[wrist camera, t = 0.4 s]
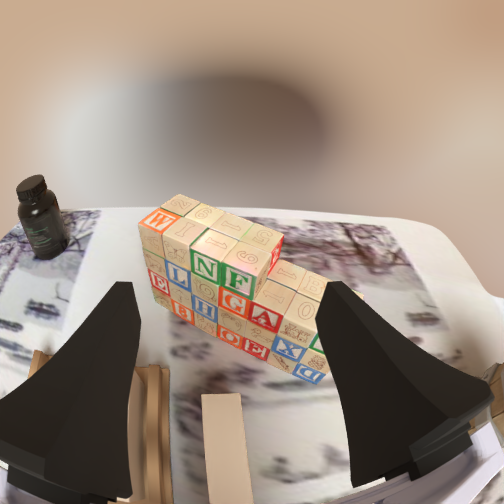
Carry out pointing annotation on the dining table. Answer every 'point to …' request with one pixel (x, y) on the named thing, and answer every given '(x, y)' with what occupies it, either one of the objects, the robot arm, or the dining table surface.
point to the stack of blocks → (235, 284)
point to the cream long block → (136, 439)
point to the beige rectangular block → (225, 450)
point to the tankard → (493, 403)
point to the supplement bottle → (41, 218)
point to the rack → (147, 431)
